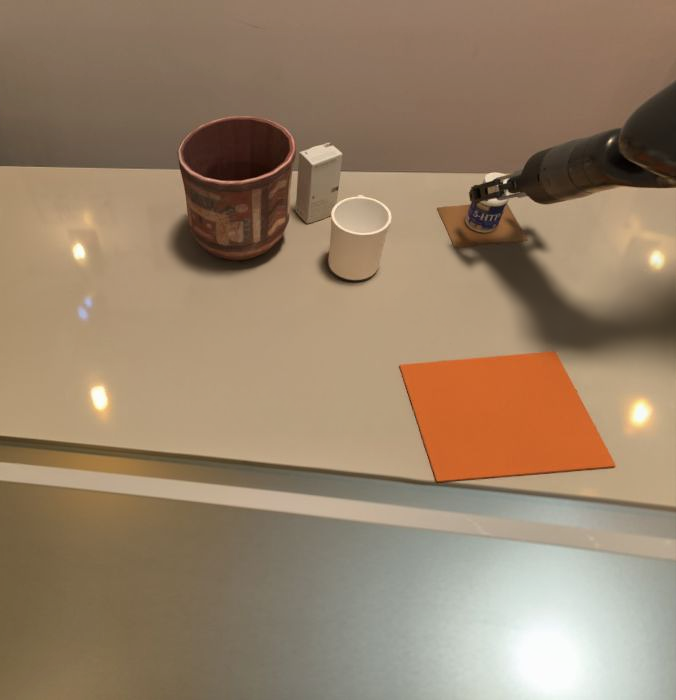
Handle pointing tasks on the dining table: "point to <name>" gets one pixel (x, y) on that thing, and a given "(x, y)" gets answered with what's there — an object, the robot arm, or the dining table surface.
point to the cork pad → (467, 237)
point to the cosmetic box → (318, 182)
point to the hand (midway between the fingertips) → (497, 191)
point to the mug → (357, 237)
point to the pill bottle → (486, 210)
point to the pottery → (237, 184)
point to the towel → (502, 417)
